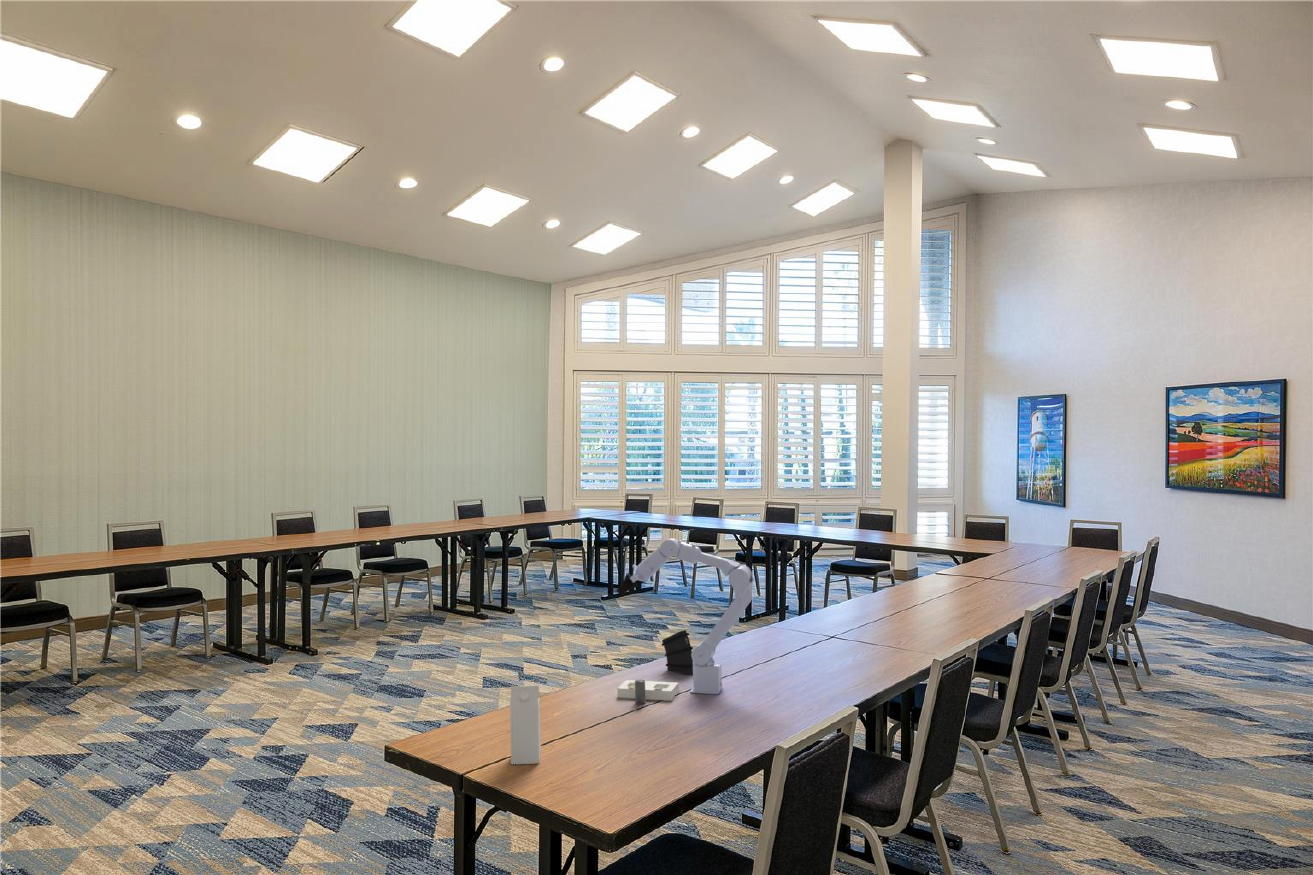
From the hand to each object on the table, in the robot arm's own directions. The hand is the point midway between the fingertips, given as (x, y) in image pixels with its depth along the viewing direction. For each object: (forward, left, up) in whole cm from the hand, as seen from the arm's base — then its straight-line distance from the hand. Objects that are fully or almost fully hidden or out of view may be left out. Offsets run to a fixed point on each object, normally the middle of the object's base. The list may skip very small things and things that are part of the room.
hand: (622, 590), depth 284 cm
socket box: (-11, +8, -32) cm, 35 cm away
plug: (-11, +17, -32) cm, 38 cm away
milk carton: (+5, +70, -32) cm, 77 cm away
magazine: (-14, -22, -33) cm, 42 cm away
